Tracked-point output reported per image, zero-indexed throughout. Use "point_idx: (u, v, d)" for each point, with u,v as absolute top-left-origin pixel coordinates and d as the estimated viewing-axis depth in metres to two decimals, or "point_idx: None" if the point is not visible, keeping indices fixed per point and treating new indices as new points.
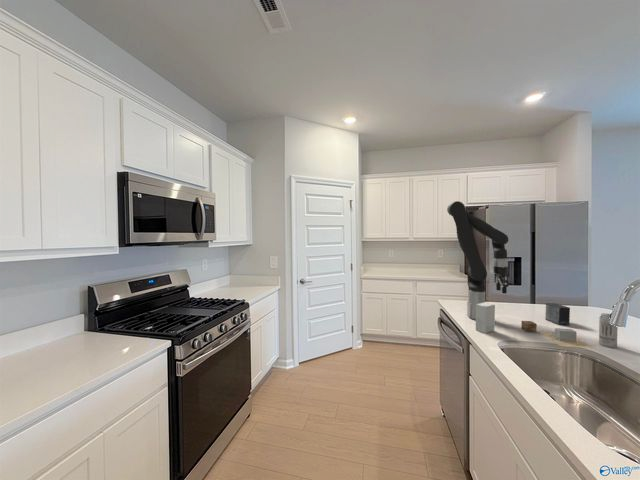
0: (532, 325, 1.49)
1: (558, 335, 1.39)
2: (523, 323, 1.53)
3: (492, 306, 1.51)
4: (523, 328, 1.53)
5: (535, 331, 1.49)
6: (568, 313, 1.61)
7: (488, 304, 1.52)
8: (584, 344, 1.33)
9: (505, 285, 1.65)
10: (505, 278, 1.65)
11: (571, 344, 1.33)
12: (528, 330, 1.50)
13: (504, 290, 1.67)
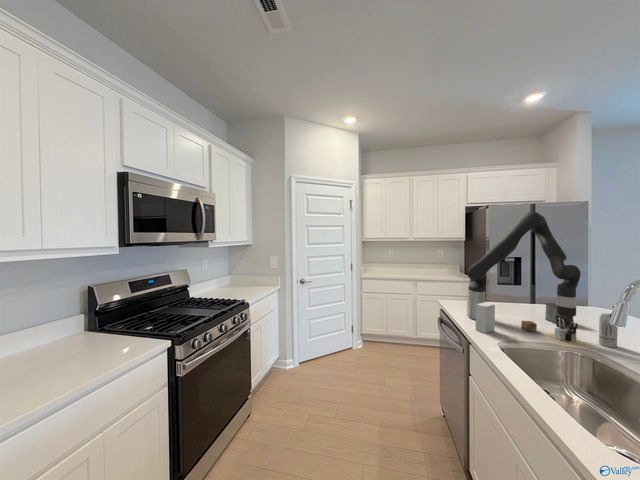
0: (532, 325, 1.49)
1: (558, 335, 1.39)
2: (523, 323, 1.53)
3: (492, 306, 1.51)
4: (523, 328, 1.53)
5: (535, 331, 1.49)
6: None
7: (488, 304, 1.52)
8: (584, 344, 1.33)
9: (571, 332, 1.34)
10: (574, 325, 1.32)
11: (571, 344, 1.33)
12: (528, 330, 1.50)
13: (569, 337, 1.36)
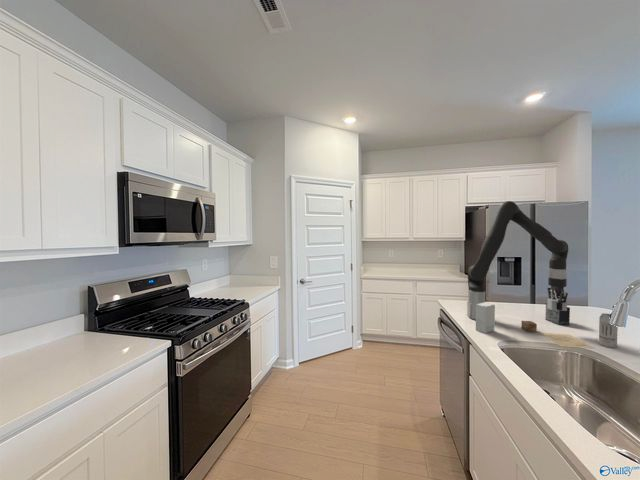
0: (532, 325, 1.49)
1: (550, 305, 1.50)
2: (523, 323, 1.53)
3: (492, 306, 1.51)
4: (523, 328, 1.53)
5: (535, 331, 1.49)
6: (568, 313, 1.61)
7: (488, 304, 1.52)
8: (584, 344, 1.33)
9: (562, 301, 1.46)
10: (564, 295, 1.44)
11: (571, 344, 1.33)
12: (528, 330, 1.50)
13: (560, 306, 1.47)
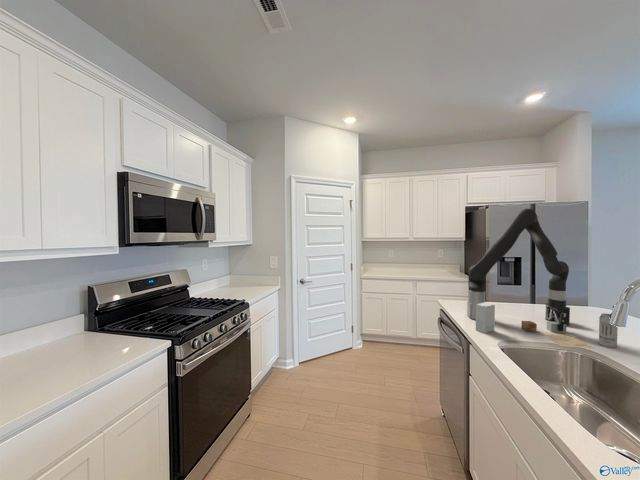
0: (532, 325, 1.49)
1: (550, 327, 1.51)
2: (523, 323, 1.53)
3: (492, 306, 1.51)
4: (523, 328, 1.53)
5: (535, 331, 1.49)
6: (568, 313, 1.61)
7: (488, 304, 1.52)
8: (584, 344, 1.33)
9: (563, 323, 1.45)
10: (564, 315, 1.44)
11: (571, 344, 1.33)
12: (528, 330, 1.50)
13: (560, 328, 1.47)
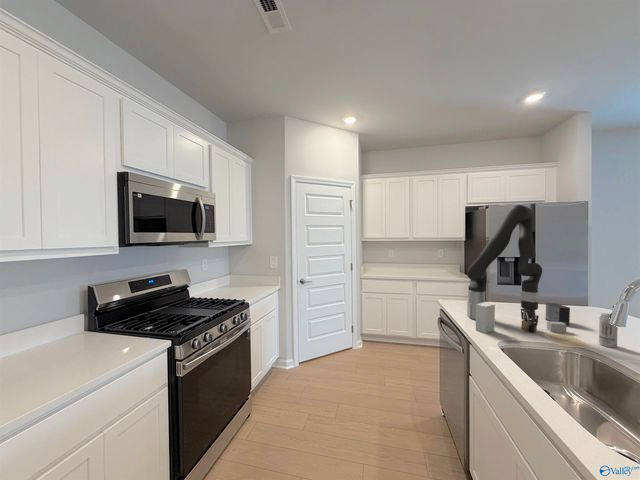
0: None
1: (550, 327, 1.51)
2: (523, 323, 1.53)
3: (492, 306, 1.51)
4: (523, 328, 1.53)
5: (535, 331, 1.49)
6: (568, 313, 1.61)
7: (488, 304, 1.52)
8: (584, 344, 1.33)
9: (533, 324, 1.46)
10: (535, 317, 1.45)
11: (571, 344, 1.33)
12: (528, 330, 1.50)
13: (532, 329, 1.48)
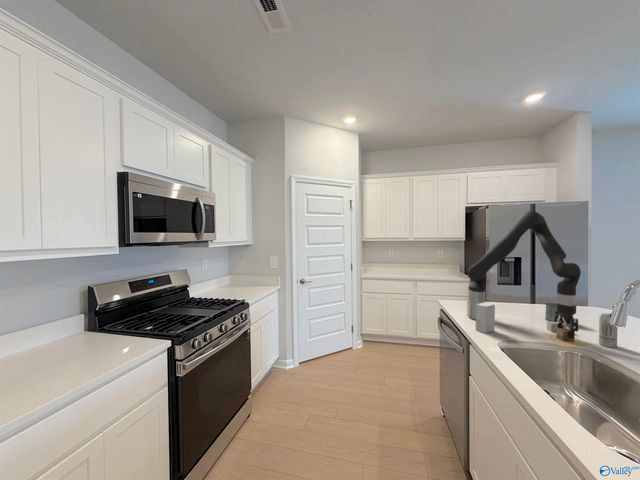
0: None
1: (550, 327, 1.51)
2: (559, 331, 1.40)
3: (492, 306, 1.51)
4: (559, 336, 1.40)
5: (573, 340, 1.36)
6: None
7: (488, 304, 1.52)
8: (584, 344, 1.33)
9: (574, 329, 1.32)
10: (574, 321, 1.32)
11: (571, 344, 1.33)
12: (565, 338, 1.37)
13: (571, 335, 1.34)
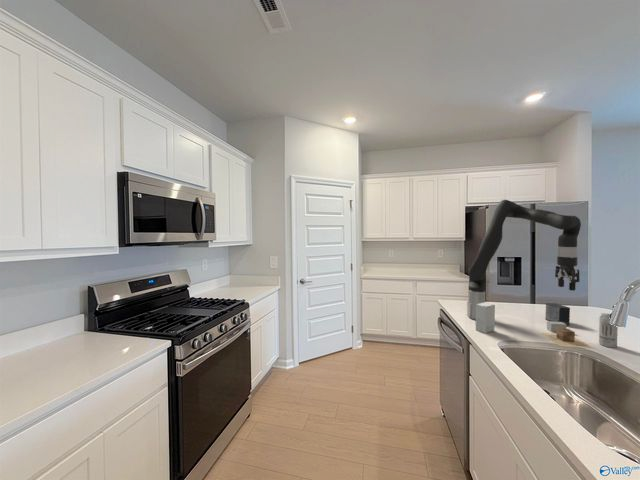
0: (569, 333, 1.36)
1: (550, 327, 1.51)
2: (559, 331, 1.40)
3: (492, 306, 1.51)
4: (559, 336, 1.40)
5: (573, 340, 1.36)
6: (568, 313, 1.61)
7: (488, 304, 1.52)
8: (584, 344, 1.33)
9: (575, 280, 1.31)
10: (575, 271, 1.31)
11: (571, 344, 1.33)
12: (565, 338, 1.37)
13: (572, 286, 1.33)
